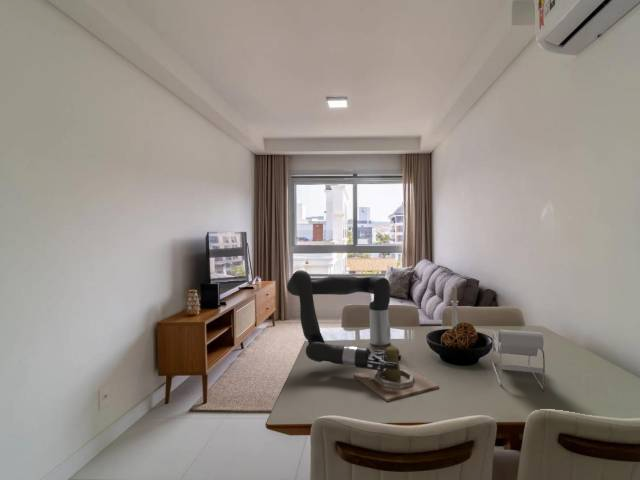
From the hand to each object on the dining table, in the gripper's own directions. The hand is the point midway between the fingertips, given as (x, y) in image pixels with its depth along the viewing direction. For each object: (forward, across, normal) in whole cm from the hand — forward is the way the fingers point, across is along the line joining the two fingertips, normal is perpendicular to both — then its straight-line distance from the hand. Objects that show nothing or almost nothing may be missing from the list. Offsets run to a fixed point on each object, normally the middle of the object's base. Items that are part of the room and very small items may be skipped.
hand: (399, 362), depth 123 cm
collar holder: (-2, 0, +8) cm, 8 cm away
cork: (-3, +2, +7) cm, 8 cm away
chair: (+40, +20, +8) cm, 46 cm away
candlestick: (+19, +42, +8) cm, 47 cm away
